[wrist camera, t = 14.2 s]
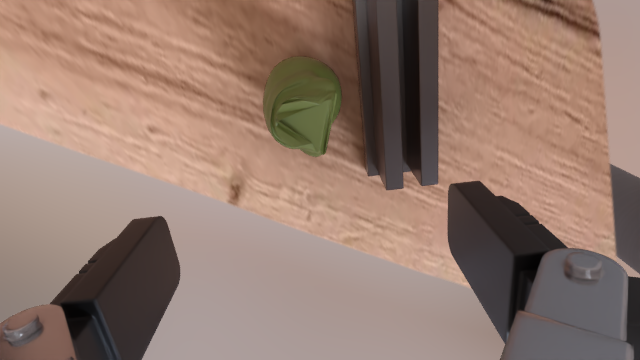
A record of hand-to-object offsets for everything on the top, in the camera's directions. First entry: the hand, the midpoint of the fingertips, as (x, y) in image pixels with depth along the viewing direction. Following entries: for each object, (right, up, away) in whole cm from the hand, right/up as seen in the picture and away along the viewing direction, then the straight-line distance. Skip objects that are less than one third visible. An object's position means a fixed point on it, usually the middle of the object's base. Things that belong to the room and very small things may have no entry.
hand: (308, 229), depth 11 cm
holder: (+6, +9, +18) cm, 21 cm away
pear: (-1, +8, +19) cm, 20 cm away
